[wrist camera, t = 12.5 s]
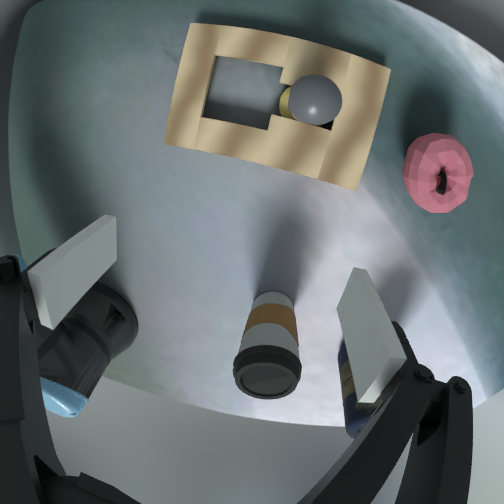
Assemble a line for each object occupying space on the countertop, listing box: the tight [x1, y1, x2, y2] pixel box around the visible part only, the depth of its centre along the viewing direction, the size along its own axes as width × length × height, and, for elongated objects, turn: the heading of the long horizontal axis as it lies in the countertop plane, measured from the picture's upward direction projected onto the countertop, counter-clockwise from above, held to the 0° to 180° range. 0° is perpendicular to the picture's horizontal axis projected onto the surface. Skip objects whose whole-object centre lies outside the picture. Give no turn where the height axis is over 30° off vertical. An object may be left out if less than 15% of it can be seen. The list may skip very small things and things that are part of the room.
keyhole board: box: [164, 23, 391, 191], centre depth 30 cm, size 24×16×3 cm, turn 77°
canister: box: [338, 344, 383, 439], centre depth 39 cm, size 10×10×18 cm
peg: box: [279, 74, 342, 127], centre depth 25 cm, size 6×6×14 cm
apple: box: [402, 133, 474, 213], centre depth 28 cm, size 10×9×10 cm
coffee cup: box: [233, 291, 302, 399], centre depth 38 cm, size 8×8×15 cm
